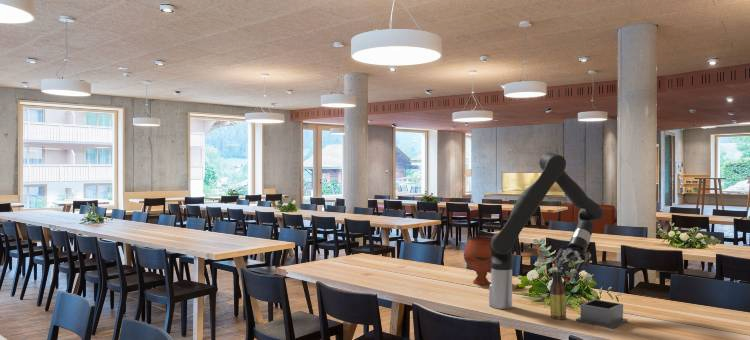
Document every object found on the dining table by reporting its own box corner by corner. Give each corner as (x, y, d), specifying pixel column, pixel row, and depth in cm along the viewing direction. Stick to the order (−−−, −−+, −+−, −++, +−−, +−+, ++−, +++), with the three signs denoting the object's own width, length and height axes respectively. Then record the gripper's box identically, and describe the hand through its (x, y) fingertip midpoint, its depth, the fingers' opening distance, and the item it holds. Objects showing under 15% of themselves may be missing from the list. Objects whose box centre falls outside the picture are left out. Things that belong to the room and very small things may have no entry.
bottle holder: (575, 321, 226) (575, 304, 226) (591, 314, 237) (591, 298, 237) (613, 328, 216) (613, 310, 216) (627, 321, 226) (627, 304, 226)
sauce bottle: (562, 316, 234) (563, 269, 234) (568, 320, 228) (568, 271, 228) (547, 316, 234) (547, 269, 234) (552, 320, 228) (553, 271, 228)
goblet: (497, 279, 311) (497, 235, 311) (501, 287, 292) (501, 239, 292) (462, 279, 313) (462, 235, 313) (464, 286, 294) (464, 239, 294)
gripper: (561, 234, 249) (549, 263, 241) (593, 237, 239) (581, 267, 231) (567, 245, 253) (555, 273, 244) (598, 248, 243) (586, 278, 235)
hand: (568, 270), depth 238 cm, fingers open, 8 cm apart
